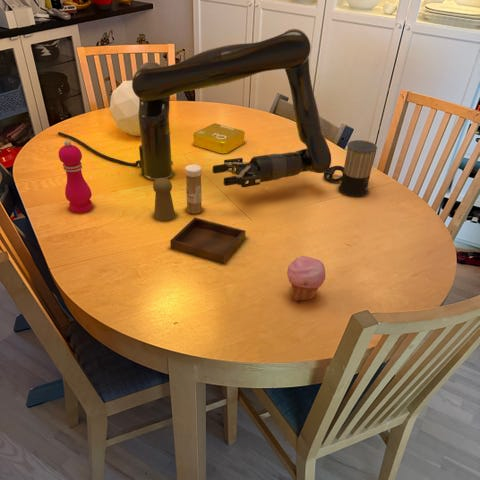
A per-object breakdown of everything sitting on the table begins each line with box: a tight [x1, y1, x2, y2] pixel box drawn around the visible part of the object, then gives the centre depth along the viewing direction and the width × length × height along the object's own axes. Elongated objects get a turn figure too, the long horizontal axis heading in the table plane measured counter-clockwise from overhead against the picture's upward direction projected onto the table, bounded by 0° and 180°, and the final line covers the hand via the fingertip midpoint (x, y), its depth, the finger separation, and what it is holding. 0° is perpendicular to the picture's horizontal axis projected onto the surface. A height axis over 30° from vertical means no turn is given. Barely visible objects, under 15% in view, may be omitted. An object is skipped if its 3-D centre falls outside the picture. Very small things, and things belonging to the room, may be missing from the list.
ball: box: [109, 80, 141, 137], centre depth 177 cm, size 19×20×20 cm
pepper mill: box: [58, 139, 93, 214], centre depth 131 cm, size 7×7×20 cm
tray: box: [169, 217, 247, 265], centre depth 125 cm, size 16×14×2 cm
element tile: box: [193, 122, 246, 155], centre depth 177 cm, size 15×15×5 cm
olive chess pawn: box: [152, 178, 176, 222], centre depth 132 cm, size 6×6×11 cm
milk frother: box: [323, 139, 378, 197], centre depth 150 cm, size 14×16×15 cm
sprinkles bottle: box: [184, 163, 203, 215], centre depth 135 cm, size 5×5×14 cm
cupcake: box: [286, 255, 326, 302], centre depth 107 cm, size 9×9×10 cm
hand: (218, 175), depth 135 cm, fingers open, 8 cm apart
